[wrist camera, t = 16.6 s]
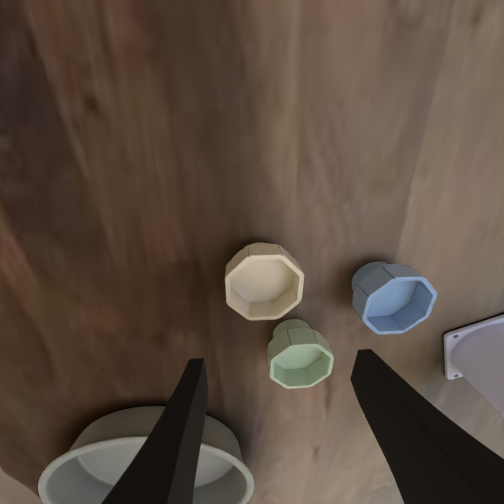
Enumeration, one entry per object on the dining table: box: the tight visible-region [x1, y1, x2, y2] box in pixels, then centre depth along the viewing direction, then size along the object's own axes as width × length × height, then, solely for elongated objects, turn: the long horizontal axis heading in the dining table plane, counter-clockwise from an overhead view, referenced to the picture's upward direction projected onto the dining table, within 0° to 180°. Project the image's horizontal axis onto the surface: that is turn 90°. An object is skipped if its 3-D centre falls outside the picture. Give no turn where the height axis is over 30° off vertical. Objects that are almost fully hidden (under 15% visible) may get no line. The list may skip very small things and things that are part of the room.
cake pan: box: [38, 406, 254, 504], centre depth 30 cm, size 25×25×4 cm
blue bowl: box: [352, 261, 437, 335], centre depth 20 cm, size 6×6×4 cm
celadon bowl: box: [267, 319, 334, 389], centre depth 22 cm, size 6×6×4 cm
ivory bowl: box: [225, 242, 304, 320], centre depth 19 cm, size 6×6×4 cm
